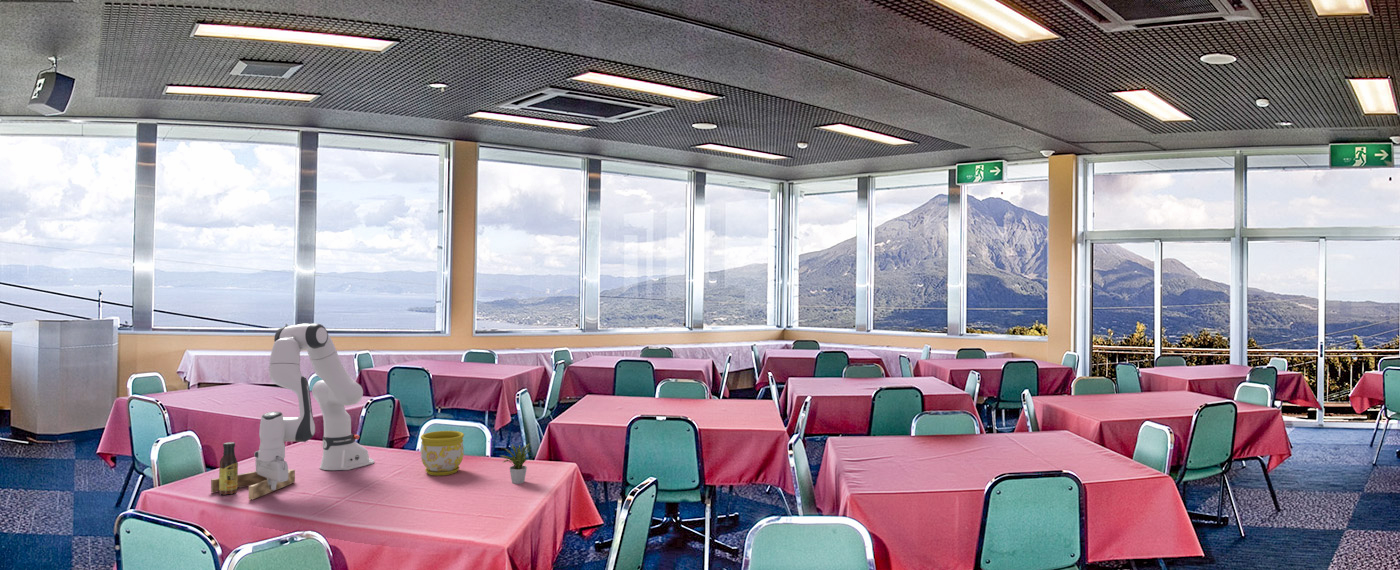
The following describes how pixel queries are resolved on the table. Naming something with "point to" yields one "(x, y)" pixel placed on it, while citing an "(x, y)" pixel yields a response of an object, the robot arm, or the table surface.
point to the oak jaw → (263, 489)
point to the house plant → (517, 464)
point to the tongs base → (240, 480)
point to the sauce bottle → (228, 470)
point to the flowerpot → (442, 452)
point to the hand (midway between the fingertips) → (272, 489)
